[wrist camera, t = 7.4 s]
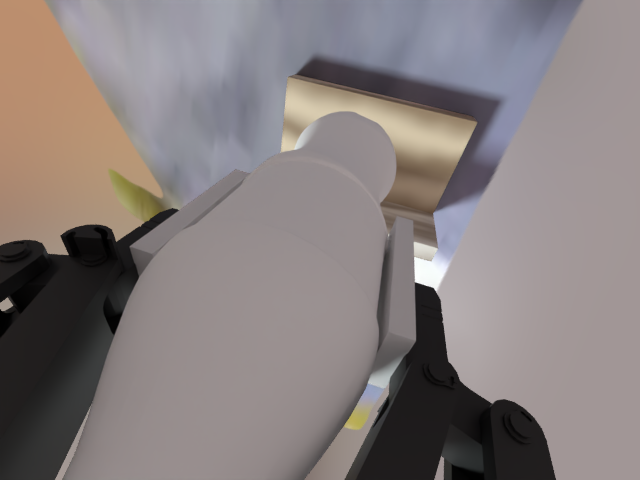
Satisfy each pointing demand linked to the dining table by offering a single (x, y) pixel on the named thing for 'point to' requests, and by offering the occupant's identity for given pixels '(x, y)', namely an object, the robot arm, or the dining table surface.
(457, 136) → the board
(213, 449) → the water bottle
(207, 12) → the dining table surface
